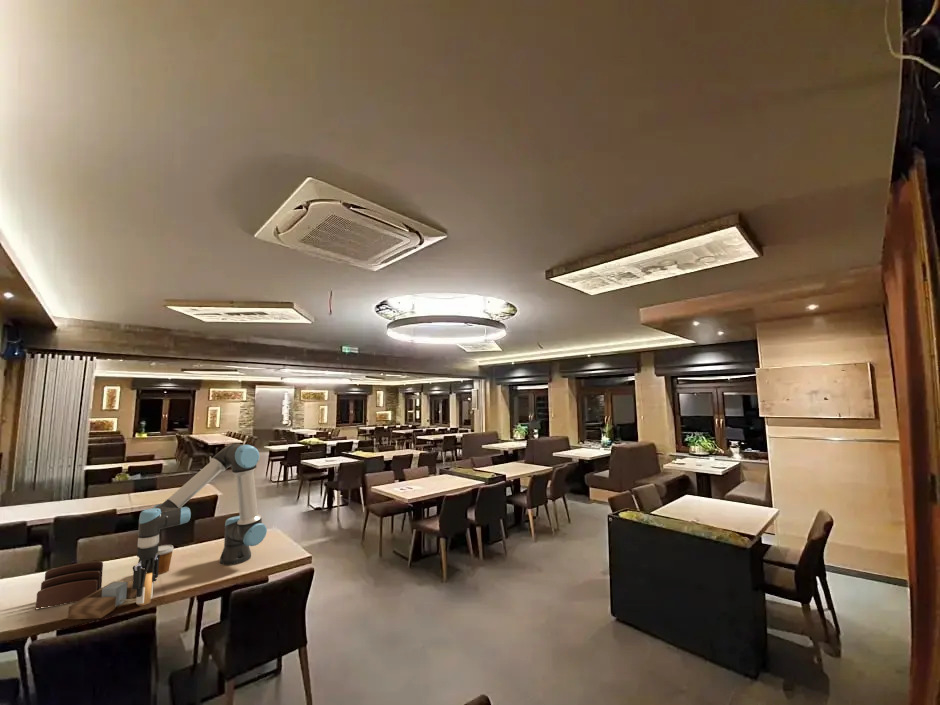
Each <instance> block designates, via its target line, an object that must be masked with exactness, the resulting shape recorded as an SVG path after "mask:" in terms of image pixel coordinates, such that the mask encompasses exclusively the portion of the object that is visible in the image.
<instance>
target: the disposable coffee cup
mask: <svg viewBox="0 0 940 705" xmlns="http://www.w3.org/2000/svg"><path fill="white" fill-rule="evenodd" d="M174 548H175V547H174V545H172V544H163V545H160V546H158V553H156V555H160V559H159V568H158V575H162V574H165V573H168V572H169V571H170V566H171V561H172V555H173V552H174Z"/></svg>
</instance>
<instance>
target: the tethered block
mask: <svg viewBox="0 0 940 705" xmlns="http://www.w3.org/2000/svg"><path fill="white" fill-rule="evenodd" d="M112 582H113V581H112ZM112 582H110V583H111V584H110V583H108V584H109V585H108V584H107V585H108V586H106V585H105V586H106V587H104V586H103V587H104V588H103V587H102V597H116V601H115V608H116V607H118V606H120V605H121V604H123V603H124V602H136V599H137V598H131V599H126V595H127V582H113V583H112ZM144 587H145V594H144V603H143V604H137V606H138V607H140V606H141V607H142V606H146V605H148V604H150V603H151V601H152V598H151V587H152V573H147V572H146V577H145V582H144Z"/></svg>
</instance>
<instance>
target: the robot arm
mask: <svg viewBox="0 0 940 705" xmlns="http://www.w3.org/2000/svg"><path fill="white" fill-rule="evenodd" d="M259 461H260V452H259V450H258V448H256V447H255V446H253V445H250V444H240V443H232V444H230V445H227V446H226V447H224V448H222V449H221V450H220V451H219V452H218V453H216V454H215V455H214V456H213V457H211V458H210V462H208V463H207V464H206V465H205V466H204V467H202V469H201V470H199V471H198V472H197V473H196V474H195V475H193V476H192V477H191V478H190V479H188V481H186V483H184V484H183V485H182V486H181V487H180V488H179V489H177V490H176V491H175V492H174V493H173V494H172V495H171V496H169V497H168V498H167V499H166V500H165V501H164V502H162V503H158V504H156V505H154V506H153V507H152V508H148V509H144V510H142V511H141V512H140V514H139V519H138V535H137V536H138V538H137V549H136V557H137V558H139V559H138V561H137V564H136V565H133V567H132V570H133V573H132V574H133V577H132V581H133V589H137V595H136V596H135V597H136V598H135V599H136V601H135V603H136V604H135V605H138V604H143V603H144V594H145V587H144V582H145V577H146V573H152V587H151V599H152V598H153V591H154V584H155V583H154V582H156V581H157V578H158V577H159V574H158V568H159V559H160V555H156V553H158V547H159V543H160V531H161V530H162V529H166V528H170V527H171V528H172V527H175V526H179V525H183V524H186V523H189V521H190V519H191V515H192V512H191V509H190V508H189V506H184V505H185V504H186V503H187V502H188V501H190V500H191V499H192V498H193V497H194V496H195V495H197V493H199V492H200V491H201V490H202V489H204V488H205V487H206V486H207V485H208V484H209V483H210V482H211V481H212V480H214V478H215V477H217V476H218V475H219V474H221V472H225V471H226V470H227V469H228V468H230V467H231V472H232V474H234V476H235V482H236V492H237V502H238V510H239V515H237V516H232V517H229V518H227V519H226V520H225V523H224V539H223V540H224V542H223V543H224V546H223V549H222V552H221V555H220V557H219V564H220V565H223V566H231V565H233V566H234V565H238V564H242V563H245V562H247V561H249V560H250V559H251V557H252V550H251V547H255V546H258V545H259V544H261V543H262V542H263V541H264V539H265V537H266V536H267V532H268V529H267V526H266V525H265V524H264V523H263V518H262V515H261V514H259V512H258V502H257V501H258V500H257V490H256V482H255V470H256V469H257V464H258V462H259ZM183 506H184V507H183Z"/></svg>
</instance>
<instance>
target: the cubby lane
mask: <svg viewBox="0 0 940 705" xmlns="http://www.w3.org/2000/svg"><path fill="white" fill-rule="evenodd" d="M113 582H127V595H126V599H134V597H137V596H136V595H137V589H133V580H120V581H118V580H117V581H111V582H110V583H108V584H106V585H105V586H103V587H102V588H104V587H106V586H108V585H109V584H111V583H113ZM102 588H101V589H99V590H97V591H95V592H94V593H92V594H90V595H88V596H87V597H85V598H83V599H81V600H79V601H77V602H73V603H72V604H70V605H69V606H68V611H67V620H83V619H102V618H103V617H105V616H107V615H108V614H109V613H111V612H113V611H114V610H115V609H116V607H115V601H116V597H102Z"/></svg>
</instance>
